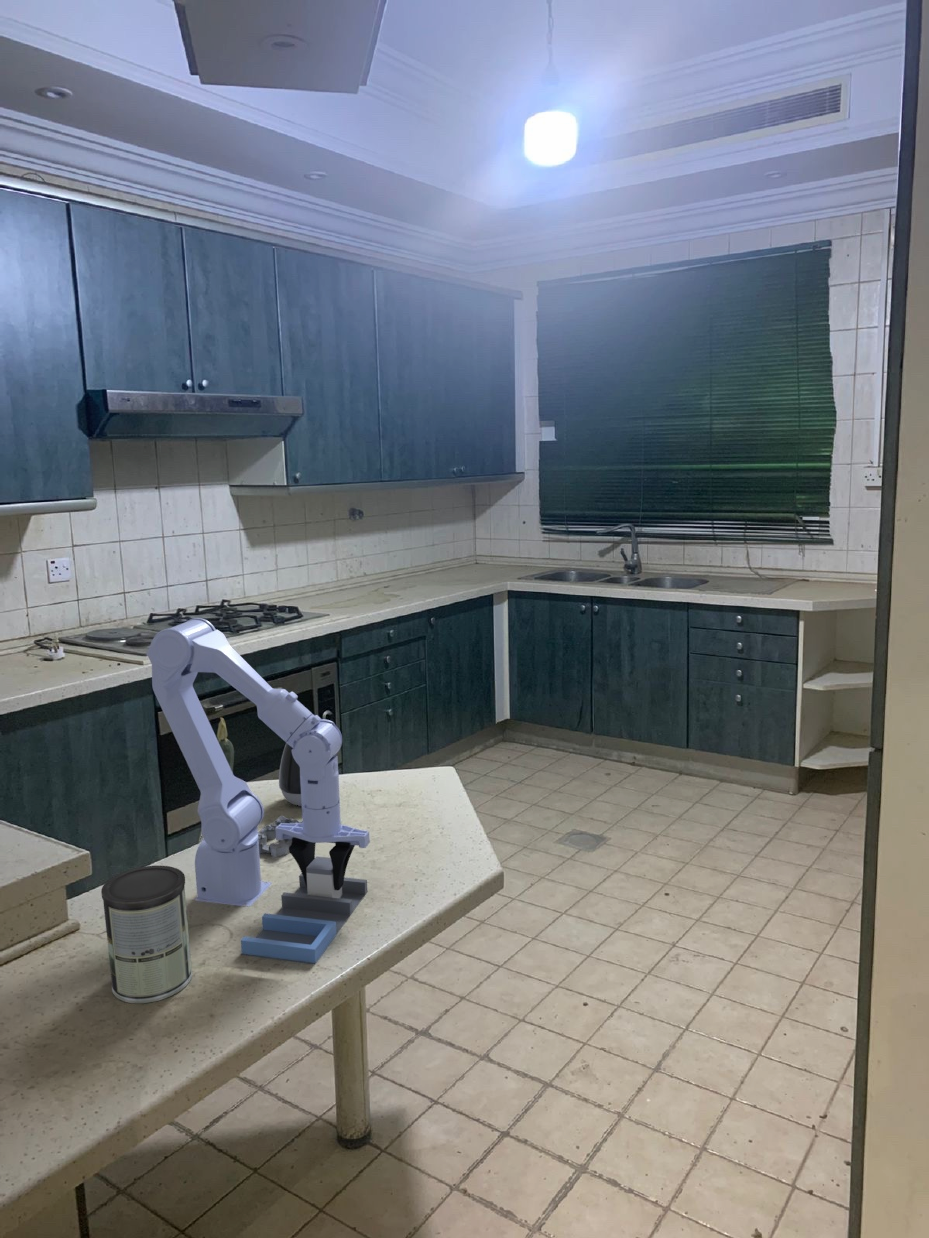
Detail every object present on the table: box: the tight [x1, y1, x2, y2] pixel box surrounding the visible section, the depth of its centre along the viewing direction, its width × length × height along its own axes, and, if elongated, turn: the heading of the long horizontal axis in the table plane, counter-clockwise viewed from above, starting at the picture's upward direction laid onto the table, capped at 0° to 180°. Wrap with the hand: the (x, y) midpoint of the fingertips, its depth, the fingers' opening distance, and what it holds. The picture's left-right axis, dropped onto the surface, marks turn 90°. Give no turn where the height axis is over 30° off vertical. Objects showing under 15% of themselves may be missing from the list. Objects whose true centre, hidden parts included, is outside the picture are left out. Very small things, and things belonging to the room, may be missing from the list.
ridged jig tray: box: [240, 872, 369, 965], centre depth 135 cm, size 11×21×3 cm, turn 166°
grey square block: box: [306, 855, 342, 898], centre depth 141 cm, size 4×4×6 cm
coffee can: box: [101, 865, 193, 1004], centre depth 120 cm, size 10×10×14 cm
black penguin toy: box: [278, 742, 302, 807], centre depth 180 cm, size 10×10×15 cm
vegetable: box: [216, 717, 235, 774], centre depth 171 cm, size 4×4×20 cm
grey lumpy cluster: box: [258, 815, 303, 858], centre depth 161 cm, size 11×8×4 cm
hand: (324, 885), depth 141 cm, fingers open, 4 cm apart
